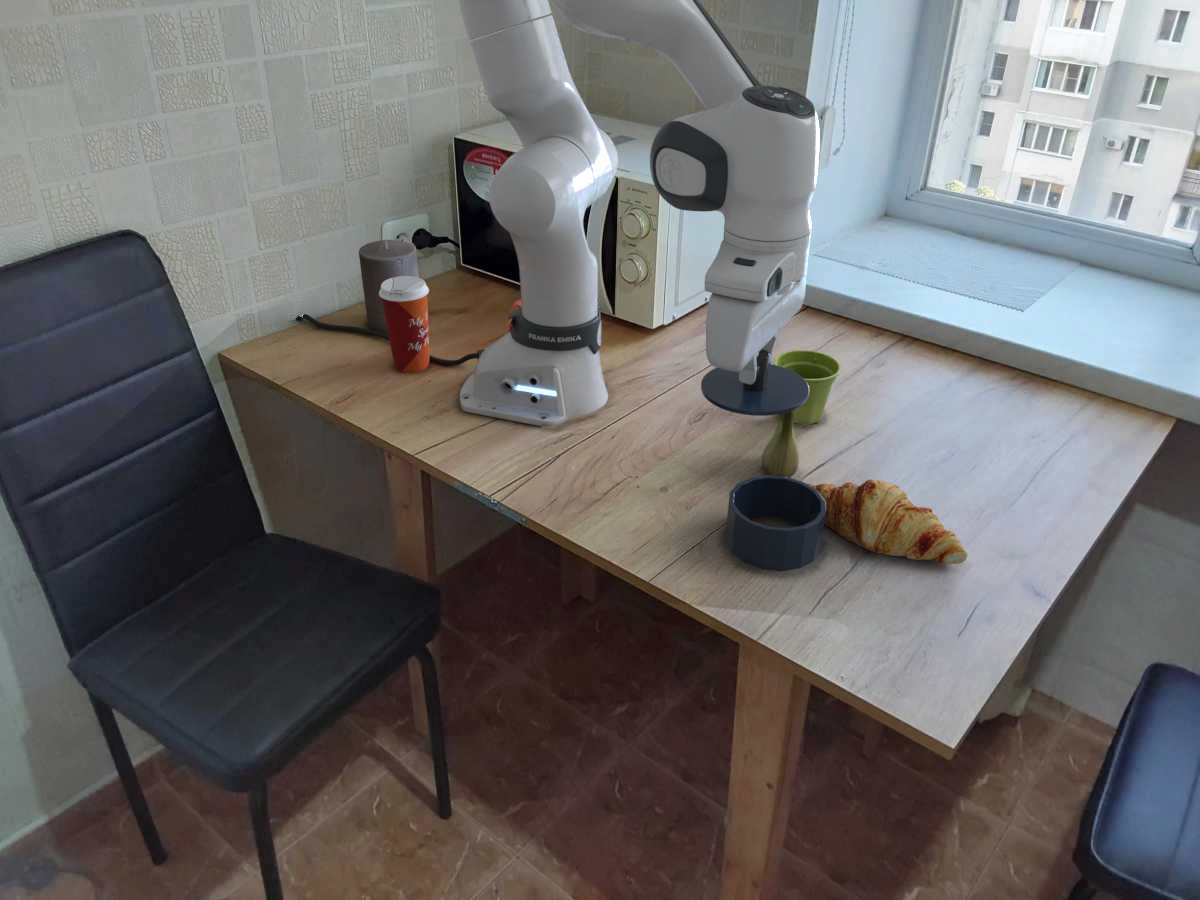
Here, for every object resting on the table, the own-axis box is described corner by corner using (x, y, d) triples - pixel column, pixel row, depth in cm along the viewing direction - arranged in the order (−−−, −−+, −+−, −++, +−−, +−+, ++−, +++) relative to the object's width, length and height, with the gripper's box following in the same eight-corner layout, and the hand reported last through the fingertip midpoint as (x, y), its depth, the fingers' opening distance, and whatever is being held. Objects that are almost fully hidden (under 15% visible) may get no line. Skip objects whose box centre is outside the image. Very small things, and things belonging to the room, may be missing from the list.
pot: (723, 569, 112) (726, 525, 109) (727, 513, 121) (731, 471, 118) (820, 578, 110) (827, 534, 107) (817, 522, 120) (824, 479, 116)
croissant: (965, 579, 116) (989, 517, 114) (948, 587, 107) (974, 520, 106) (805, 514, 126) (826, 457, 125) (778, 517, 118) (799, 455, 116)
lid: (696, 416, 104) (698, 374, 101) (704, 367, 114) (706, 327, 112) (809, 424, 102) (814, 382, 100) (807, 373, 113) (811, 333, 110)
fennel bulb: (786, 488, 126) (796, 409, 120) (752, 477, 128) (760, 398, 122) (803, 468, 130) (814, 390, 124) (770, 457, 132) (779, 380, 126)
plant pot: (833, 436, 137) (841, 382, 133) (766, 429, 139) (772, 375, 134) (833, 404, 145) (840, 352, 141) (770, 398, 147) (775, 347, 142)
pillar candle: (356, 324, 169) (344, 242, 161) (399, 307, 176) (390, 228, 168) (392, 340, 164) (382, 256, 156) (435, 322, 170) (427, 240, 162)
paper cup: (427, 377, 152) (419, 294, 145) (381, 373, 153) (370, 291, 146) (442, 355, 159) (434, 275, 152) (397, 352, 160) (388, 272, 153)
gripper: (772, 221, 109) (762, 333, 116) (697, 281, 94) (691, 405, 101) (826, 230, 106) (812, 344, 113) (758, 293, 91) (747, 420, 98)
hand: (755, 373), depth 107 cm, fingers closed on lid, 2 cm apart
